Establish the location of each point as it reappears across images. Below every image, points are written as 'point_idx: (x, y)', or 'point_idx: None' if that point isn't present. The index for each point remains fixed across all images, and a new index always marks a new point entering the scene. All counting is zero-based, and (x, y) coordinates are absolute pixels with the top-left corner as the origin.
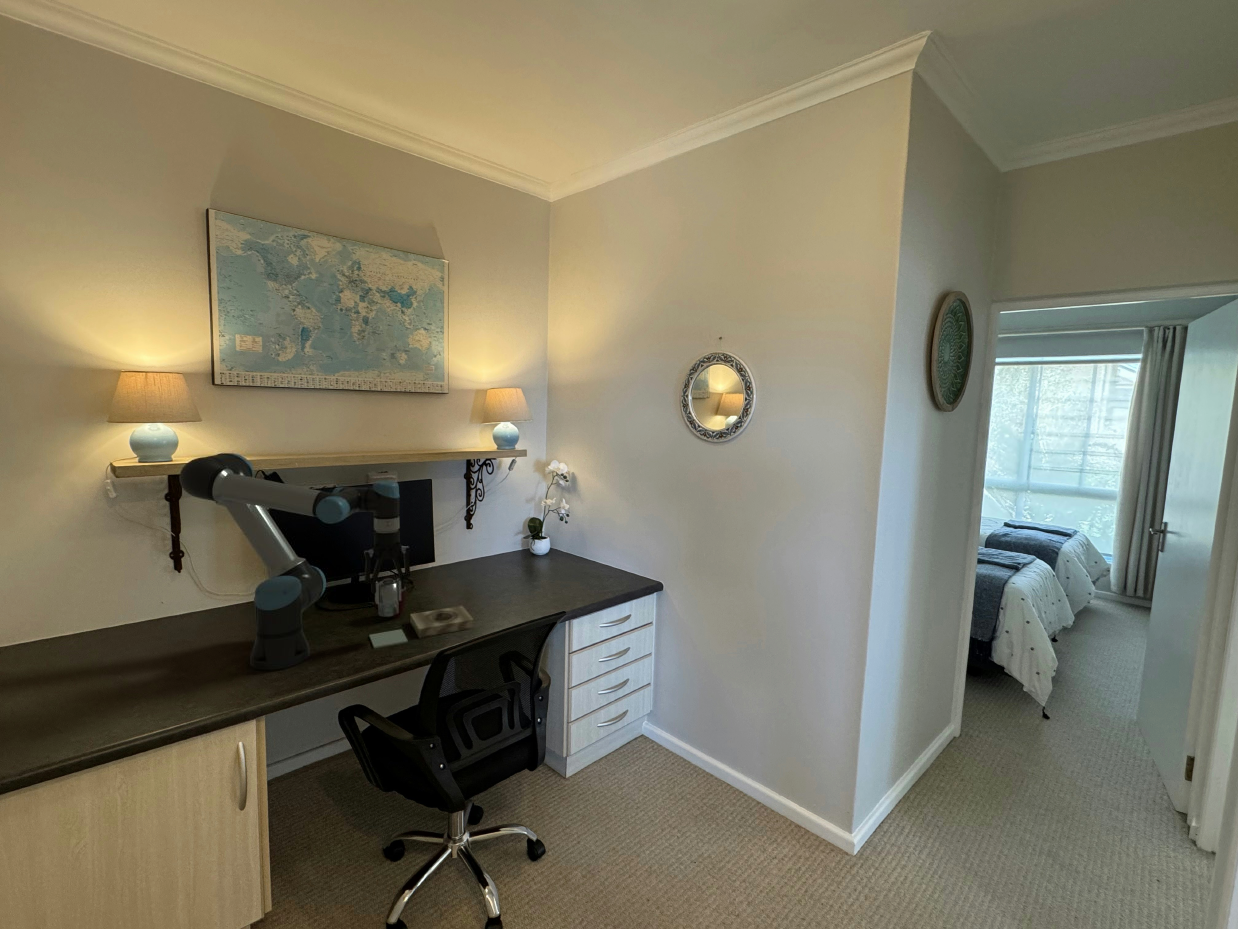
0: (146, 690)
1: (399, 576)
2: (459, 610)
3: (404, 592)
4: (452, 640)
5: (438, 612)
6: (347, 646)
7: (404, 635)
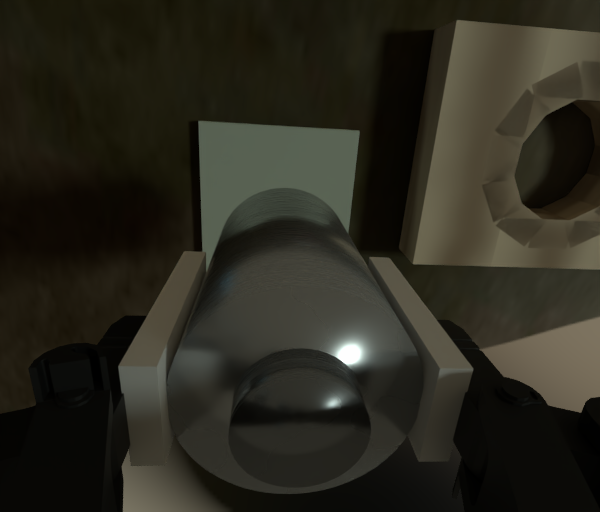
0: None
1: (484, 418)
2: None
3: None
4: (494, 327)
5: (597, 85)
6: (93, 188)
7: (348, 215)
